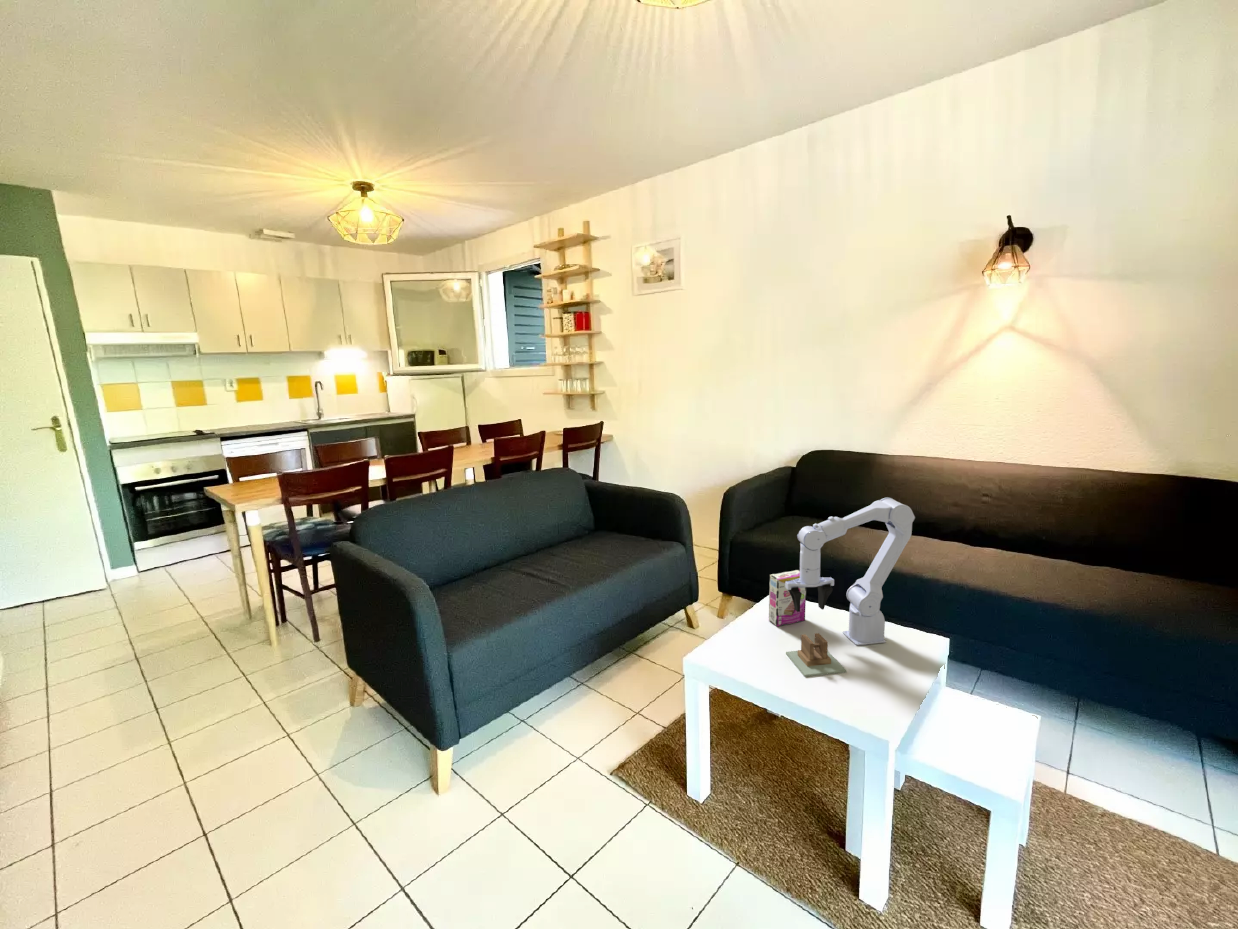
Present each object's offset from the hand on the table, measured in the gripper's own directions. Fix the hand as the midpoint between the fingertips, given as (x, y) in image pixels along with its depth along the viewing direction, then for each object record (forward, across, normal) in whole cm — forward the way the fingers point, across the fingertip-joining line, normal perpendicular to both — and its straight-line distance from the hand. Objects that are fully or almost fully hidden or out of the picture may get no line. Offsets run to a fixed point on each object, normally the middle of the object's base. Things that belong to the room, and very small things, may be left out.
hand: (809, 609), depth 159 cm
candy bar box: (+10, +1, -13) cm, 17 cm away
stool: (+10, +4, +11) cm, 15 cm away
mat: (+10, +4, +12) cm, 16 cm away
